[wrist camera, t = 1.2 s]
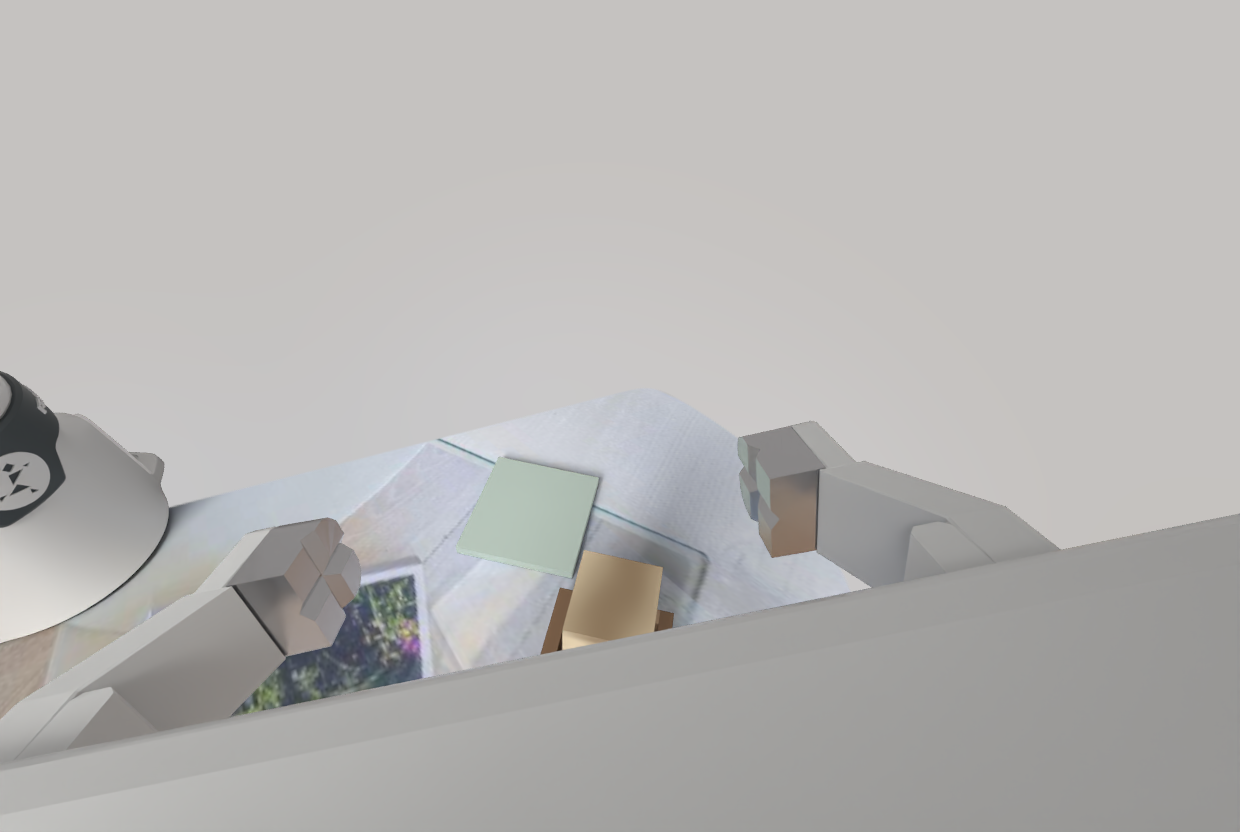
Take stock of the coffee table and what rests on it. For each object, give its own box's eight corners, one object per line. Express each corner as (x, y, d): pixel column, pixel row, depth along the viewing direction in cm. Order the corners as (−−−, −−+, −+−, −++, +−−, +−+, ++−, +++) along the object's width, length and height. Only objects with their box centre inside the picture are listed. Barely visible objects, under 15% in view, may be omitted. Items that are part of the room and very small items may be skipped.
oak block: (562, 706, 35) (562, 629, 25) (578, 641, 38) (583, 550, 28) (625, 721, 34) (651, 650, 24) (636, 654, 37) (663, 567, 27)
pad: (457, 552, 42) (455, 547, 41) (499, 463, 49) (498, 456, 48) (572, 578, 41) (572, 573, 40) (598, 483, 48) (598, 477, 47)
